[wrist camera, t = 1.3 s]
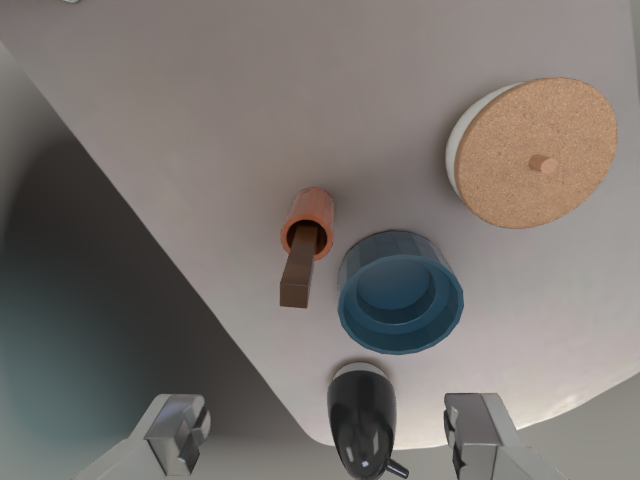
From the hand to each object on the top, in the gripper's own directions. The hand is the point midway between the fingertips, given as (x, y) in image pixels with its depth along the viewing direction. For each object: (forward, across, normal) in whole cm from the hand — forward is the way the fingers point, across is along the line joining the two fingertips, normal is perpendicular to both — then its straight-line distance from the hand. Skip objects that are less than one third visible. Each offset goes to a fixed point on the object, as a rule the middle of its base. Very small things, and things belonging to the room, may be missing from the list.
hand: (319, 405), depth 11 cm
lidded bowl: (+31, -16, -2) cm, 35 cm away
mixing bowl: (+30, -5, +14) cm, 34 cm away
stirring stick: (+29, +4, +3) cm, 30 cm away
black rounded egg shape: (+31, 0, +32) cm, 44 cm away
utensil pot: (+30, +4, +3) cm, 30 cm away
